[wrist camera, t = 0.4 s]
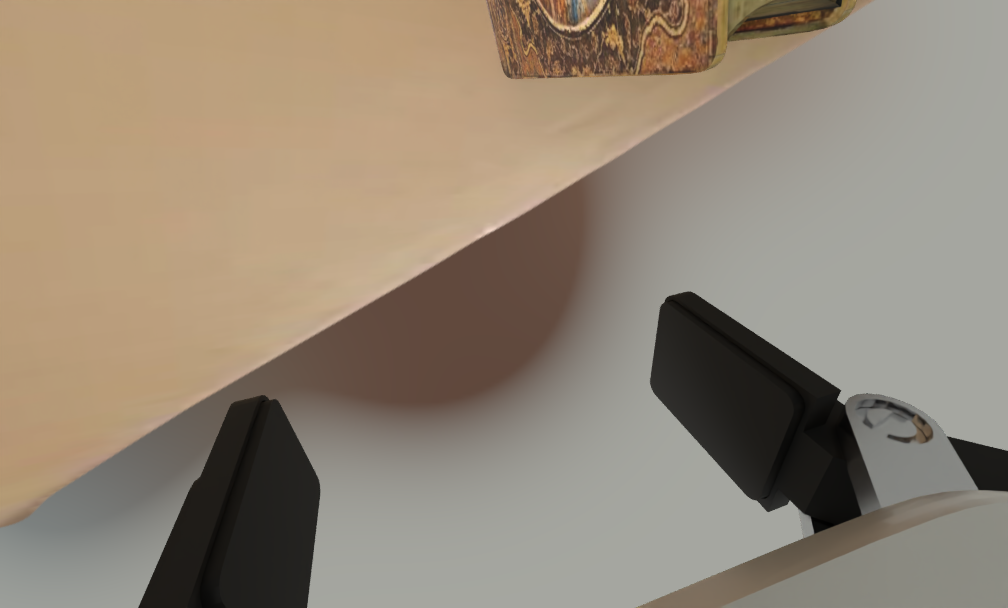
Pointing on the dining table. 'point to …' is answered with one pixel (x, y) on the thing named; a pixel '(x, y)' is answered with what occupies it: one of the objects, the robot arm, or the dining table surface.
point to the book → (641, 33)
